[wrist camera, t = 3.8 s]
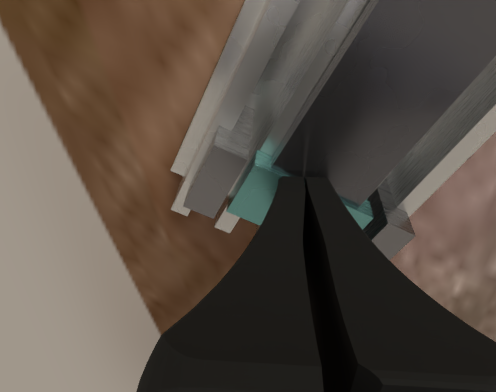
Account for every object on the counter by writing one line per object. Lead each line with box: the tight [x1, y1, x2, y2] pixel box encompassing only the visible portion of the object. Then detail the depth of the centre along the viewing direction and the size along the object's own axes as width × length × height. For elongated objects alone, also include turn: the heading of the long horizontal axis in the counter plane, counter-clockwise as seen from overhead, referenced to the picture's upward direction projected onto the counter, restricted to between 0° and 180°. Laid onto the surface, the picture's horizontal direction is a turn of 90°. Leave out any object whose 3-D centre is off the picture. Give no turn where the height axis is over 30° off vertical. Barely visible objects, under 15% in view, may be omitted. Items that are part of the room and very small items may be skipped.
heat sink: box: [171, 0, 496, 260], centre depth 11 cm, size 13×8×5 cm, turn 154°
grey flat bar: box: [226, 0, 496, 230], centre depth 10 cm, size 11×4×1 cm, turn 154°
